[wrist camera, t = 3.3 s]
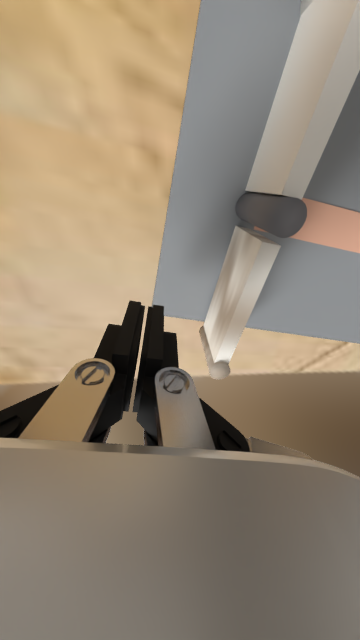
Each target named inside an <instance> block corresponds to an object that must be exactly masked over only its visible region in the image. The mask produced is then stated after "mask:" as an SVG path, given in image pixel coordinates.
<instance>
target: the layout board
mask: <svg viewBox="0 0 360 640" xmlns="http://www.w3.org/2000/svg"><path fill="white" fill-rule="evenodd" d="M235 226H240V227H244V228H248V229H251V230H253V231H255V232H256V233H258V234H260V235H262V236H264V237H266V238H267V239H269V240H271V241H273V242H275V243H277V244H279V245H280V246H281V247H280V249H279V252H278V254H277V256H276V258H275V261H274V263H273V265H272V267H271V270H270V272H269V274H268V276H267V279H266V281H265V283H264V285H263V288H262V290H261V292H260V294H259V296H258V299H257V301H256V303H255V305H254V308H253V310H252V312H251V314H250V317H249V319H248V321H247V323H246V326H245V327H246V328H253V329H260V330H267V331H275V332H282V333H289V334H296V335H303V336H310V337H317V338H324V339H331V340H338V341H345V342H352V343H359V344H360V0H201V3H200V9H199V16H198V22H197V28H196V34H195V41H194V47H193V53H192V59H191V66H190V72H189V78H188V84H187V91H186V97H185V103H184V109H183V116H182V122H181V128H180V134H179V141H178V147H177V153H176V159H175V166H174V172H173V178H172V184H171V191H170V197H169V203H168V209H167V216H166V222H165V228H164V234H163V240H162V247H161V253H160V259H159V265H158V272H157V278H156V284H155V290H154V297H153V303H152V307H153V304H154V305H160V306H164V316H169V317H176V318H183V319H190V320H197V321H204V322H205V319H206V316H207V313H208V310H209V307H210V303H211V300H212V297H213V294H214V291H215V288H216V285H217V282H218V279H219V275H220V272H221V269H222V266H223V263H224V260H225V257H226V254H227V251H228V247H229V244H230V241H231V238H232V235H233V232H234V229H235Z"/></svg>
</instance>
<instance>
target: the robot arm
mask: <svg viewBox="0 0 360 640" xmlns="http://www.w3.org/2000/svg"><path fill="white" fill-rule="evenodd" d="M144 310H145V306H142V305H141V302H135V301H130V302H129V305H128V308H127V311H126V314H125V317H124V320H123V323H122V326H120V325H113V324H109V325H108V326H107V329H106V331H105V333H104V336H103V338H102V340H101V343H100V345H99V347H98V350H97V352H96V354H95V357H94V358H92V359H86V360H83V361H81V362H79V363H77V364H76V365H75V366H74V367H73V368H72V369H71V370H70V371H69V373H68V374H67V375H66V377H65V378H64V379H63V380H62V382H61V383H60V384H59V385H57V386H55V387H53V388H50V389H48V390H46V391H44V392H42V393H39V394H37V395H35V396H33V397H30V398H28V399H26V400H24V401H22V402H19V403H17V404H15V405H13V406H10V407H8V408H6V409H4V410H2V411H0V640H360V477H358V476H356V475H353V474H351V473H349V472H347V471H345V470H342V469H340V468H337V467H335V466H331V465H328V464H325V463H322V462H319V461H314V460H313V459H312V458H310V457H309V456H308V455H306V454H304V453H302V452H299V451H296V450H293V449H290V448H287V447H283V446H280V445H277V444H273V443H270V442H267V441H264V440H260V439H257V438H254V437H250V438H249V439H246V438H245V437H244V436H243V435H242V434H241V433H240V432H239V431H238V430H237V429H236V428H235V427H234V426H232V425H231V424H230V423H229V422H228V421H226V420H225V419H224V418H223V417H222V416H220V415H219V414H218V413H217V412H215V411H214V410H213V409H212V408H211V407H210V406H209V405H207V404H206V403H205V402H204V401H203V400H201V399H200V398H199V397H198V394H197V391H196V388H195V385H194V382H193V379H192V378H191V376H190V375H189V374H188V373H187V372H185V371H184V370H182V369H179V366H178V352H177V337H176V333H170V332H164V306H160V305H154V304H153V307H148V313H147V320H146V326H145V333H144V339H143V346H142V352H141V359H140V366H139V372H138V379H137V386H136V393H135V399H134V406H133V412H138V414H137V421H138V422H139V423H140V425H141V426H142V427H143V428H144V446H142V445H126V444H124V445H123V444H108V443H106V440H107V438H108V435H109V432H110V429H111V426H112V425H113V424H115V423H116V422H118V421H119V420H121V419H122V415H123V411H128V410H129V405H130V398H131V393H132V387H133V381H134V376H135V370H136V364H137V358H138V352H139V345H140V338H141V331H142V324H143V317H144Z"/></svg>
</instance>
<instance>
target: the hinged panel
mask: <svg viewBox="0 0 360 640" xmlns="http://www.w3.org/2000/svg"><path fill="white" fill-rule="evenodd" d="M280 247H281V246H280V245H279V244H277V243H275V242H273V241H271V240H269V239H267V238H266V237H264V236H262V235H260V234H258V233H256V232H255V231H253V230H251V229H248V228H244V227H240V226H235V229H234V232H233V235H232V238H231V241H230V244H229V247H228V251H227V254H226V257H225V260H224V263H223V266H222V269H221V272H220V275H219V279H218V282H217V285H216V288H215V291H214V294H213V297H212V300H211V303H210V307H209V310H208V313H207V316H206V319H205V322H204V325H203V326H202V327H201V328H200V331H199V332H200V336H201V340H202V344H203V349H204V353H205V357H206V361H207V365H208V369H209V373H210V376H211V377H212V378H214V379H223V378H225V377H227V376H228V375H229V373H230V368H229V365H228V364H229V361H230V359H231V357H232V355H233V352H234V350H235V348H236V346H237V344H238V341H239V339H240V337H241V335H242V332H243V330H244V328H245V326H246V323H247V321H248V319H249V317H250V314H251V312H252V310H253V308H254V305H255V303H256V301H257V299H258V296H259V294H260V292H261V290H262V288H263V285H264V283H265V281H266V279H267V276H268V274H269V272H270V270H271V267H272V265H273V263H274V261H275V258H276V256H277V254H278V252H279V249H280Z"/></svg>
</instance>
